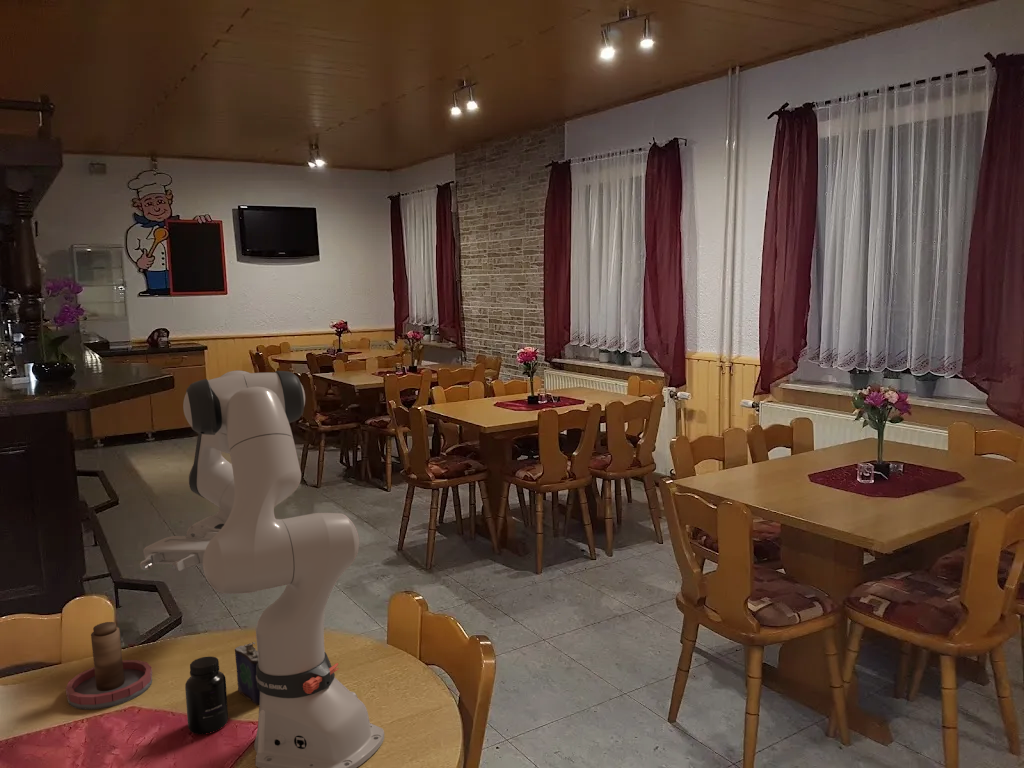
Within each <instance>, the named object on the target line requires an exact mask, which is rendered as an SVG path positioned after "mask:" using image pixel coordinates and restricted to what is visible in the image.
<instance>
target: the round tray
mask: <svg viewBox="0 0 1024 768" xmlns="http://www.w3.org/2000/svg"><path fill="white" fill-rule="evenodd" d="M122 661H123V671H124V681H125V682H124V684H123V685H122V686H120V687H118V688H116V689H113V690H109V691H99V690H97V689H96V679H95V669H94V666H93V667H90V668H89V669H86V670H84V671H82V672H80V673H78V674H77V675H75V676H74V677H73V678H71V679H70V680H69V681H68V683H67V685H66V687H65V695H66V697H67V704H68V705H69V706H70V707H72V708H75V709H79V710H87V711H88V710H89V711H90V710H101V709H106V708H111V707H115V706H119V705H122V704H124V703H126V702H129V701H131V700H133V699H135V698H138V697H139V696H141V695H142V694H143V693H145V692H146V691H148V690H149V688H150V687H151V685H152V683H153V669H152V666H151V665H150V664H149V663H148V662H147V661H143V660H140V659H122Z"/></svg>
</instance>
